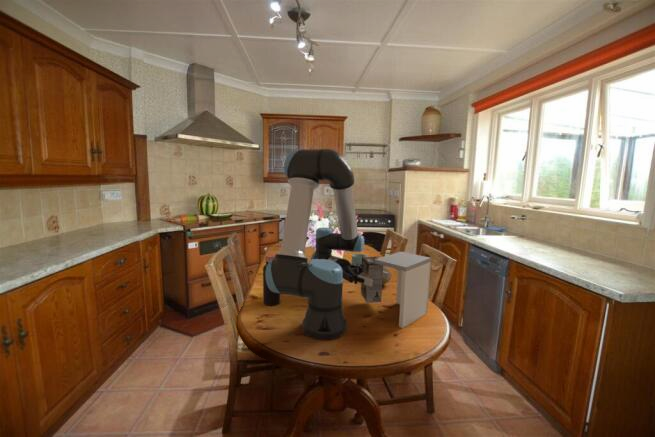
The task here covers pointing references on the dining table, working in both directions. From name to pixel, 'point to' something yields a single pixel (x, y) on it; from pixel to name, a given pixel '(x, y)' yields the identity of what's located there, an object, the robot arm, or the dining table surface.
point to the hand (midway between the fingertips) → (380, 279)
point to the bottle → (268, 295)
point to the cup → (357, 259)
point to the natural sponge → (389, 275)
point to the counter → (410, 284)
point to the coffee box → (376, 274)
